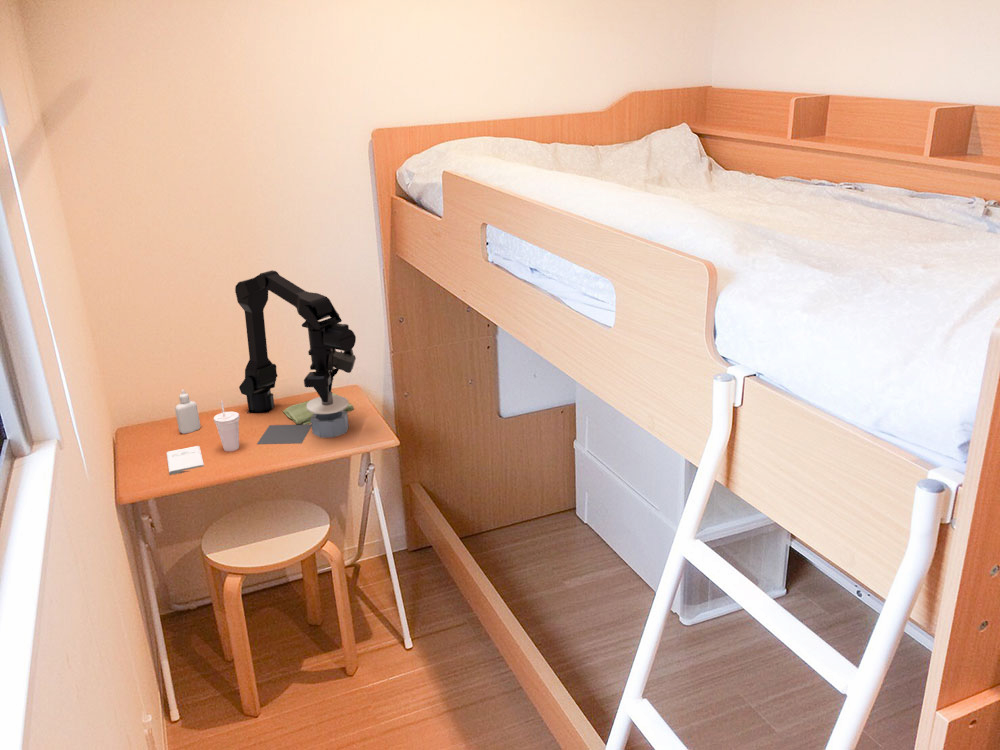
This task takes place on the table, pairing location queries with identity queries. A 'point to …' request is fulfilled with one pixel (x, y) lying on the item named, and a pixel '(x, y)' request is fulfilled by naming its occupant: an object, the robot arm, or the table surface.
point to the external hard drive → (184, 459)
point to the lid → (327, 404)
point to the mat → (285, 434)
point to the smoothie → (228, 429)
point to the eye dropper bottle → (187, 414)
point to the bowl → (329, 424)
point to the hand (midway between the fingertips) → (327, 399)
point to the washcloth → (305, 412)
